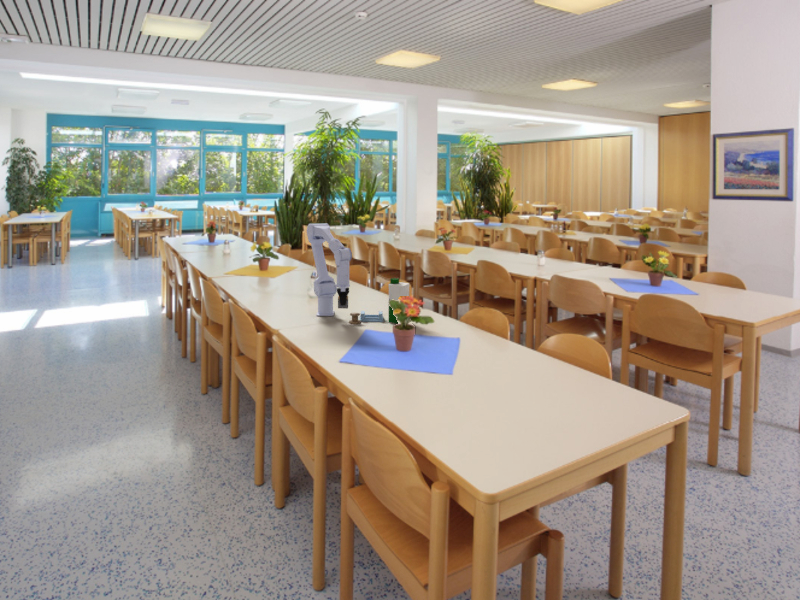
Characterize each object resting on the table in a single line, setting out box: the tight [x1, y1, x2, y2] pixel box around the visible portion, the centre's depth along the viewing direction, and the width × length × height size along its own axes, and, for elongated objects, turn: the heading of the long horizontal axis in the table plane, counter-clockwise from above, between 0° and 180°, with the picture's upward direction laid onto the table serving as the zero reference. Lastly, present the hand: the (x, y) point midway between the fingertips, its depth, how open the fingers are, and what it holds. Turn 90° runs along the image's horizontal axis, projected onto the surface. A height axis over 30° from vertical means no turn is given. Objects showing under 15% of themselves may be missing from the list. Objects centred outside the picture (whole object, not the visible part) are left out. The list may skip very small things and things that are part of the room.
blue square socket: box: [359, 310, 384, 323], centre depth 264 cm, size 9×11×3 cm
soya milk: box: [387, 277, 410, 324], centre depth 260 cm, size 9×9×20 cm
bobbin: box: [348, 312, 362, 325], centre depth 258 cm, size 5×5×4 cm
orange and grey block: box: [337, 295, 349, 309], centre depth 258 cm, size 3×4×5 cm
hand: (343, 304), depth 258 cm, fingers closed on orange and grey block, 3 cm apart
